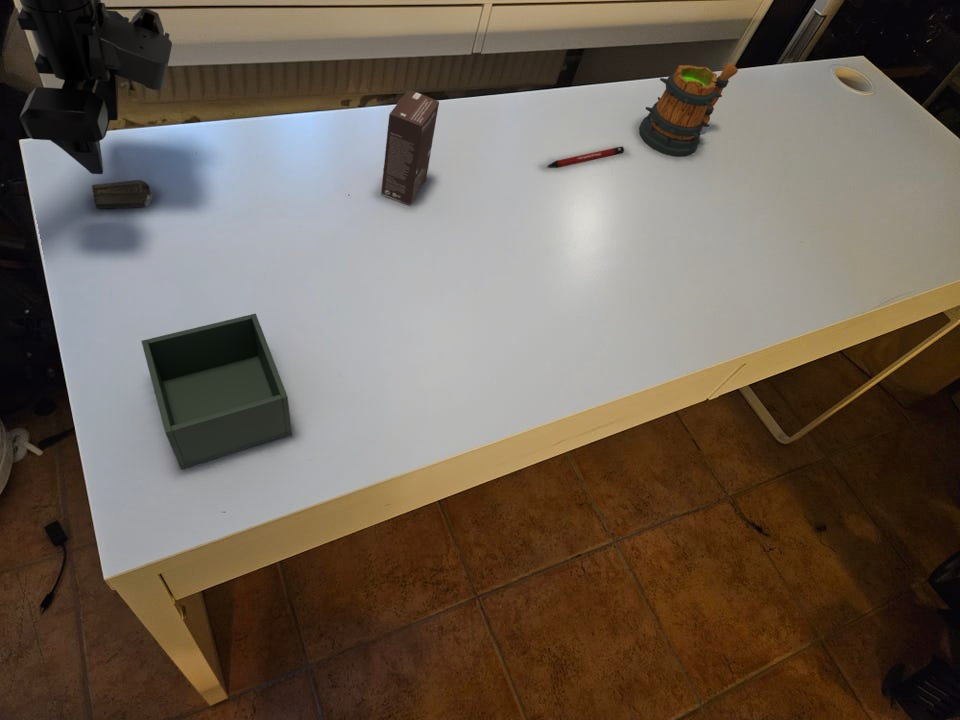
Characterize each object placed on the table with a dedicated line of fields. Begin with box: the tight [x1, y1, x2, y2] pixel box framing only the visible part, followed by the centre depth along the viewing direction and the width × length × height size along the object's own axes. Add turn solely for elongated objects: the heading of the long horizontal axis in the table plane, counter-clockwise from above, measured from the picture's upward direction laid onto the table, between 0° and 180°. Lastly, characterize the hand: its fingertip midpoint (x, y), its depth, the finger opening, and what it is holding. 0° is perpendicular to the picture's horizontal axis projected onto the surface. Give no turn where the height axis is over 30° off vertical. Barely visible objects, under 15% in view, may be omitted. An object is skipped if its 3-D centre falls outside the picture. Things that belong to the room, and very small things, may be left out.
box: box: [380, 89, 440, 206], centre depth 81 cm, size 6×4×12 cm
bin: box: [140, 313, 293, 470], centre depth 60 cm, size 10×10×7 cm
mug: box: [638, 62, 739, 158], centre depth 100 cm, size 13×10×12 cm
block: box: [91, 179, 153, 209], centre depth 76 cm, size 4×6×2 cm, turn 115°
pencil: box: [547, 146, 625, 168], centre depth 96 cm, size 1×14×1 cm, turn 118°
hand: (105, 145), depth 71 cm, fingers open, 9 cm apart
